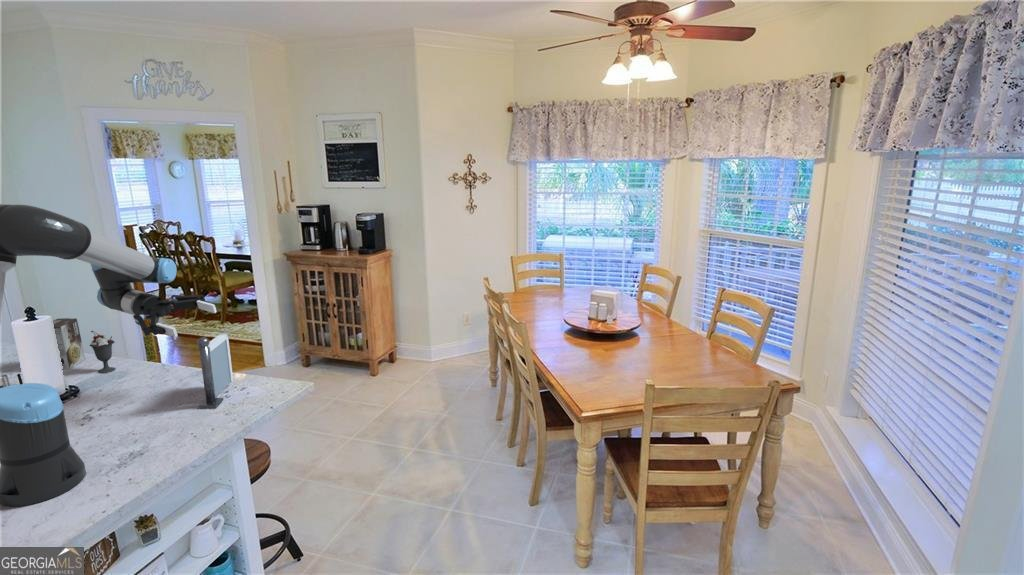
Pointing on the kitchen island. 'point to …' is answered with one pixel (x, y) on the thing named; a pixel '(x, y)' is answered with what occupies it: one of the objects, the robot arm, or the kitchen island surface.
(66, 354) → the coffee box
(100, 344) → the sundae
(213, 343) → the panel
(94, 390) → the kitchen island surface
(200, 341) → the metal joystick
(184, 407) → the kitchen island surface
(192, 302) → the robot arm
